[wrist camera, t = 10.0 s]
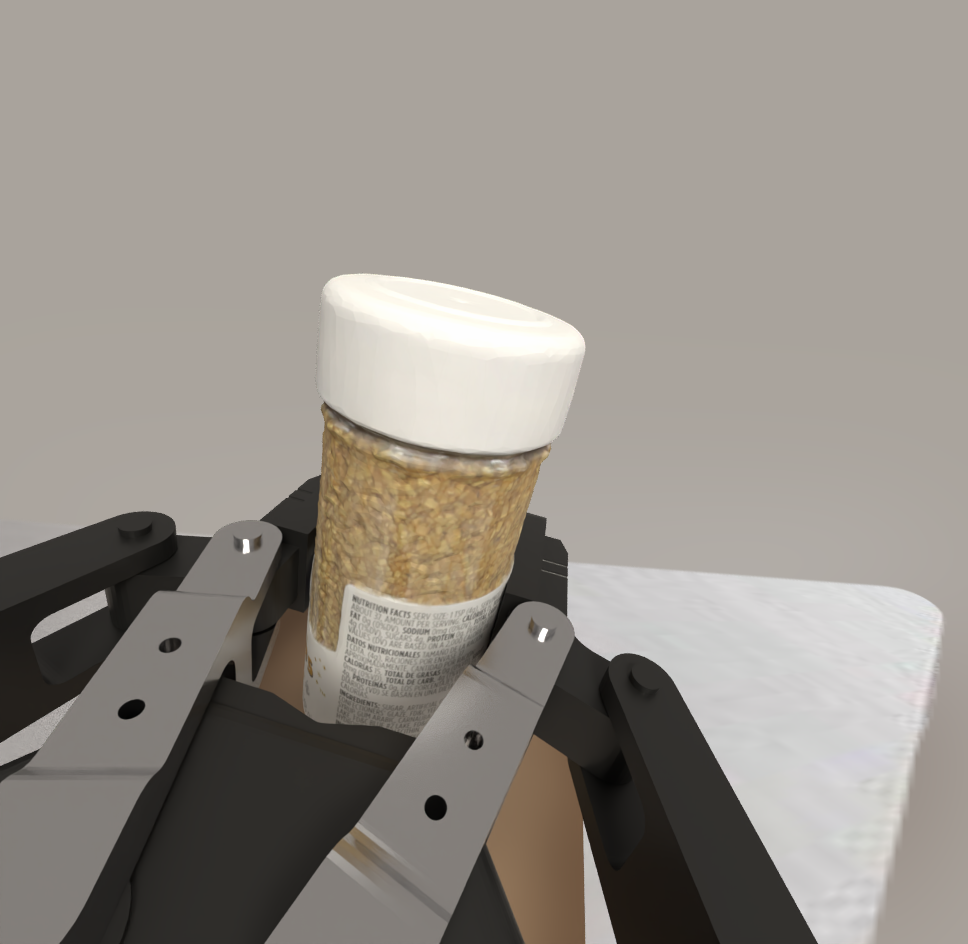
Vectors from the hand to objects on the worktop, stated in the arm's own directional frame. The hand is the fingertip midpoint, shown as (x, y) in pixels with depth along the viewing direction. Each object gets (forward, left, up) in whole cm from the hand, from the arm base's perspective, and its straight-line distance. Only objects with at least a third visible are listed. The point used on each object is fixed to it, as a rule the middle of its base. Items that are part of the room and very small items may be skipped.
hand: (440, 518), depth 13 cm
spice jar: (0, -3, -7) cm, 8 cm away
